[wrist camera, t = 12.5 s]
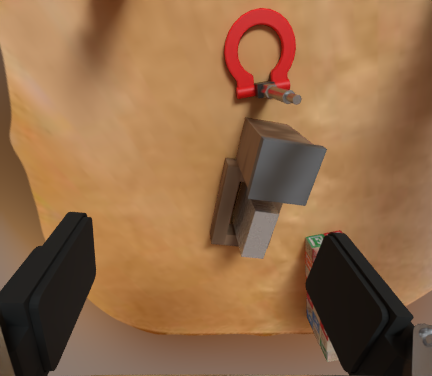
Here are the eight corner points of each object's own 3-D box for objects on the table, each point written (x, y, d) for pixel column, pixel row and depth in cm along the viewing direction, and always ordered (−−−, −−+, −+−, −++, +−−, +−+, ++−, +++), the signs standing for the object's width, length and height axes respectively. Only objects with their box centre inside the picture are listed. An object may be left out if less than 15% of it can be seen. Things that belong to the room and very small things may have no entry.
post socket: (298, 124, 37) (337, 151, 27) (262, 237, 45) (282, 288, 35) (234, 113, 35) (251, 137, 25) (210, 232, 44) (215, 284, 34)
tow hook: (219, 16, 31) (229, 100, 34) (236, -15, 19) (248, 117, 23) (291, 4, 31) (293, 89, 35) (353, -34, 19) (345, 101, 23)
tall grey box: (261, 181, 40) (279, 214, 32) (249, 220, 43) (263, 258, 35) (242, 178, 40) (255, 211, 32) (231, 217, 43) (241, 256, 35)
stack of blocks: (335, 311, 56) (370, 374, 45) (306, 316, 56) (334, 381, 45) (340, 229, 46) (387, 284, 35) (304, 235, 46) (339, 293, 35)
